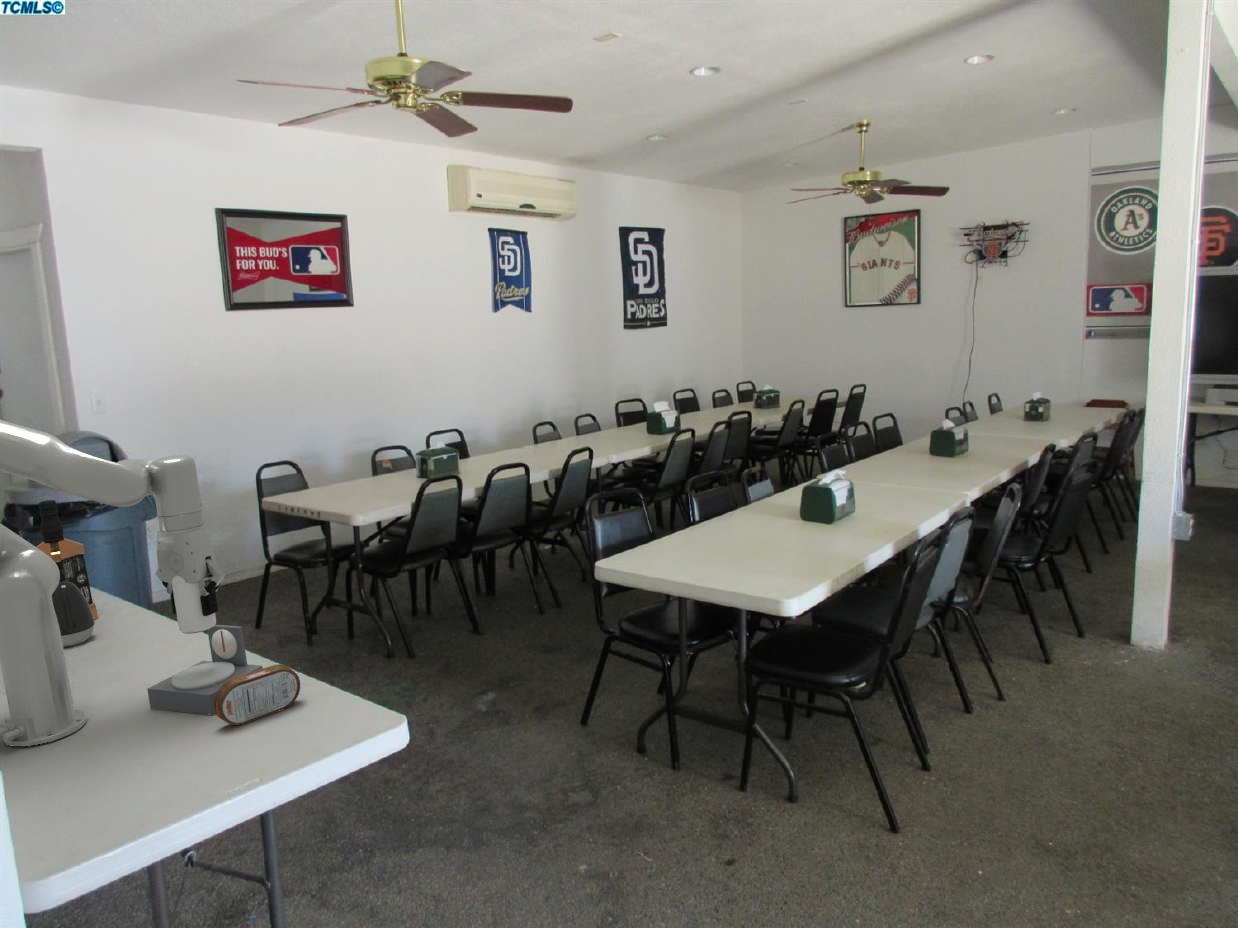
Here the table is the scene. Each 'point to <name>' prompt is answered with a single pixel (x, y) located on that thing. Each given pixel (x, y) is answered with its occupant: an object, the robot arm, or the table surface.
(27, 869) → the table surface
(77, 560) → the whiskey bottle
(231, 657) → the scale
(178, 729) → the table surface
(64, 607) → the pump dispenser
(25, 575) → the robot arm
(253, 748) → the table surface
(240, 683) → the tin
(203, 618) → the can
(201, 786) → the table surface
